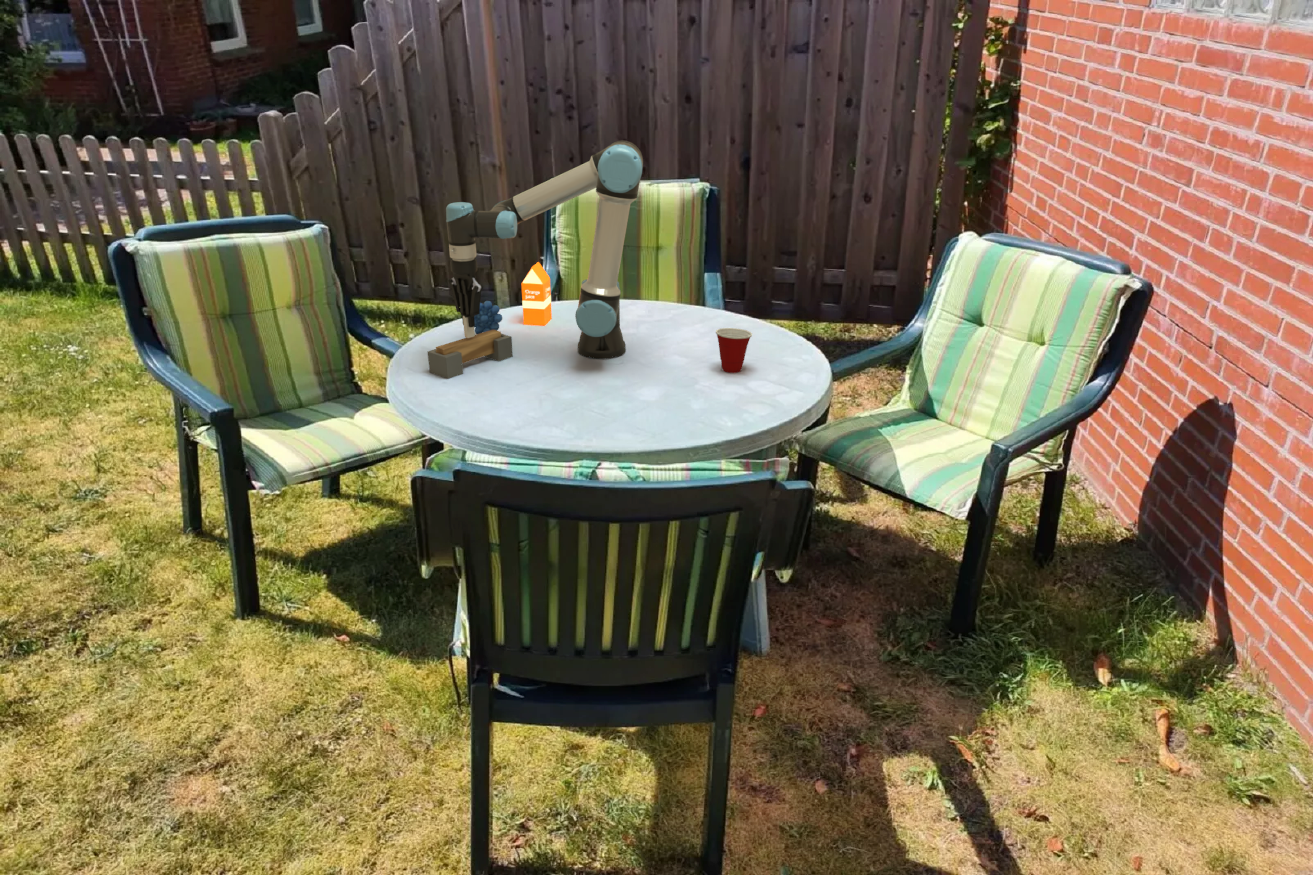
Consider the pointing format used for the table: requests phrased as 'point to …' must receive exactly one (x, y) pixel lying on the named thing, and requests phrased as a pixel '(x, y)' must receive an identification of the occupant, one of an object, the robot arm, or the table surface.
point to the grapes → (487, 318)
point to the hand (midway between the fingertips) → (469, 336)
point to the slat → (472, 346)
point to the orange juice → (536, 297)
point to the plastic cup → (732, 348)
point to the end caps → (453, 361)
